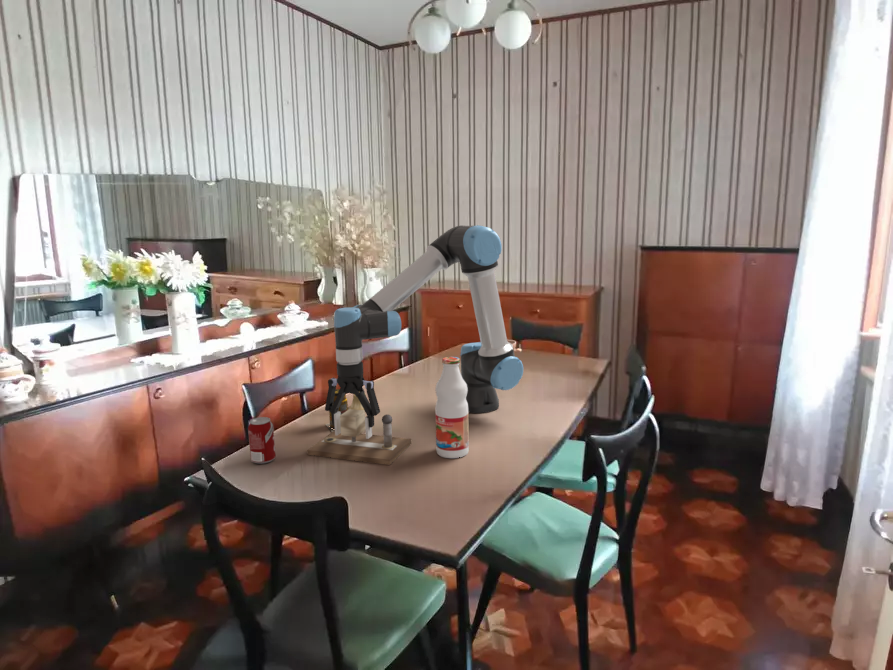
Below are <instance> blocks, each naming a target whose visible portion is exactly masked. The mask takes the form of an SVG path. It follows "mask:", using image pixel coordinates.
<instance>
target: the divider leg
mask: <svg viewBox="0 0 893 670" xmlns="http://www.w3.org/2000/svg"><path fill="white" fill-rule="evenodd" d="M365 417H366V412H365V410H354V409H349V408H348V410H347V411H346V412H345V413H343V414H342V415H340V426H341V435H344V436H352V442H356V437H357V436H358V435H360V434H363V433H364V432H366V429H365Z"/></svg>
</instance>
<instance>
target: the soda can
mask: <svg viewBox="0 0 893 670" xmlns="http://www.w3.org/2000/svg"><path fill="white" fill-rule="evenodd" d="M247 433H248V442H249V444H248V446H249V454H250V455H249V456H250V462H252V463H253V464H254V463H255V464H258V465H265V464H270V463H271V462H273V461H274V460H275V459H276V458H277V457H276V455H277V454H276V446H275V445H276V443H275V429H274V424H273V423H272V421H271V418H270V417H266V416H260V417H259V416H258V417H254V418H252V419H250V420H249V425H248V427H247Z"/></svg>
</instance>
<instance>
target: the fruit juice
mask: <svg viewBox="0 0 893 670" xmlns="http://www.w3.org/2000/svg"><path fill="white" fill-rule="evenodd" d="M441 360H442V361H441V363H442V366H443V368H442V372H441V375H440V378H439V379H438V380H437V383H436V385H435V390H434V391H435V395H436V399H437V400H436V403H435V410H434V411H435V412H434V413H435V447H436V453H437V455H439V456H440V457H441V458H445V459H459V457H460V458H462V457H465V456H467V455H468V454H469V450H470V448H469V447H470V441H469V439H470V438H469V436H470V435H469V427H470V425H469V412H468V403H467V401H466V396H467V392H468V388H467V384H466V382H465V381H464V380H463V378H462V376H461V369H460V367H459V366H460V365H461V358H459V357H457V356H446V357H443V358H442V359H441Z"/></svg>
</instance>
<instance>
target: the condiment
mask: <svg viewBox="0 0 893 670" xmlns="http://www.w3.org/2000/svg"><path fill="white" fill-rule="evenodd" d="M339 390H340V388H338V389H337V388H336V391H335V396H334V402H335V400H336V398H337V396H338V392H339ZM346 394H347V393H346ZM346 394H345V396H344V398H343V400H342V402H341V405H340V407H339V410H338V411H340V412H341V415H342V414H343V413H345V412H346V411H347V410H349V404H348V398H347V395H346ZM334 402H333V404H334ZM338 411H337V412H338ZM328 415H329V423H325V426H326V427H327V428H328V429H329V431H331V433H332V432H333V431H335V430H333V429H335V425H334V423H332V415H331V412H329V411H328ZM328 426H330V427H328ZM331 428H333V429H331Z"/></svg>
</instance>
